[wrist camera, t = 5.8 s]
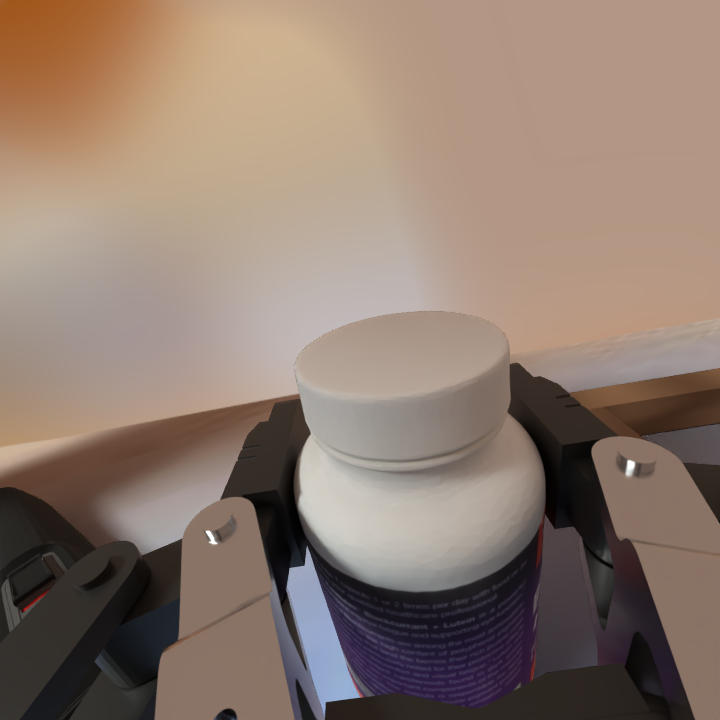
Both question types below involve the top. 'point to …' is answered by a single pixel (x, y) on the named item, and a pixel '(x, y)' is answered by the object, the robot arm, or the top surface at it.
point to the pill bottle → (422, 505)
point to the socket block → (656, 403)
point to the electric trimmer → (36, 565)
